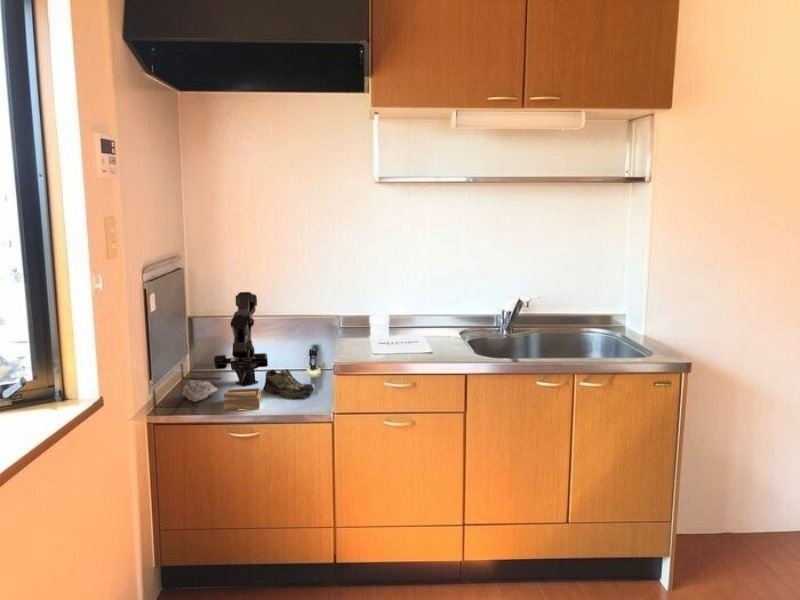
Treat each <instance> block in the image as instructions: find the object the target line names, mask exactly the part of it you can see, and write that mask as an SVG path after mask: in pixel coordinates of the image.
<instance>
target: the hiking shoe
mask: <svg viewBox="0 0 800 600" xmlns="http://www.w3.org/2000/svg"><path fill="white" fill-rule="evenodd" d="M264 381H265V382H264V386H263V388H262V390H263V392H264V393H265V394H268V393H269V395H278V396H279V395H280V396H281V397H282V398H284V397H285V399H289V398H290V400H293V399H294V400H296V399H297V400H299V399H300V398H301V399H307V397H308V398H310V396H311V395H312V394H313V392H314V387H313V385H312V384H309V383H301V382H300V381H298V379H296V378H295V377H294V376H293V374H292V373H291V371H290V370H289V368H286V369H282V370H281V371H280V372H277V371H276V370H275V369H271V370H268V371H267V370H266V373H265V379H264ZM291 398H292V399H291ZM301 399H300V400H301Z"/></svg>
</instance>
